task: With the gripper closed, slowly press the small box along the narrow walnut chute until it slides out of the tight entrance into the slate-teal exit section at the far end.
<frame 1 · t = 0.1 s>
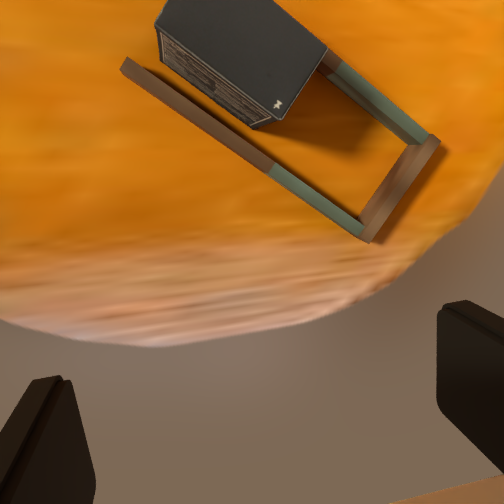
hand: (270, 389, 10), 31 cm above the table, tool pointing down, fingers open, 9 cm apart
small box: (226, 67, 38), resting in chute
chute: (280, 107, 39), on the table
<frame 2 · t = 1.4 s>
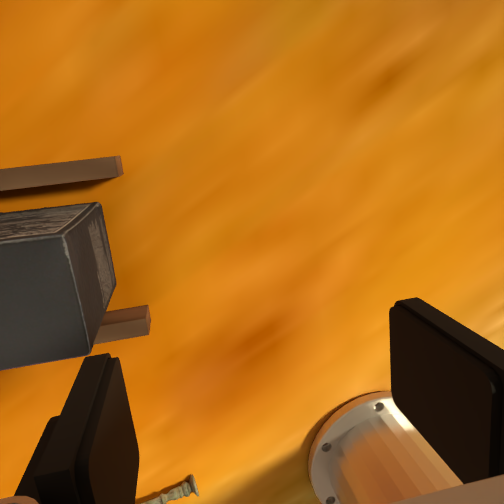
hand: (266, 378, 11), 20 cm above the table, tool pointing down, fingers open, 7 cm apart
small box: (31, 256, 28), resting in chute
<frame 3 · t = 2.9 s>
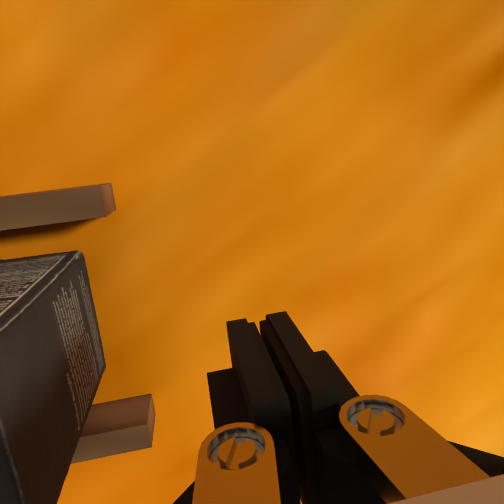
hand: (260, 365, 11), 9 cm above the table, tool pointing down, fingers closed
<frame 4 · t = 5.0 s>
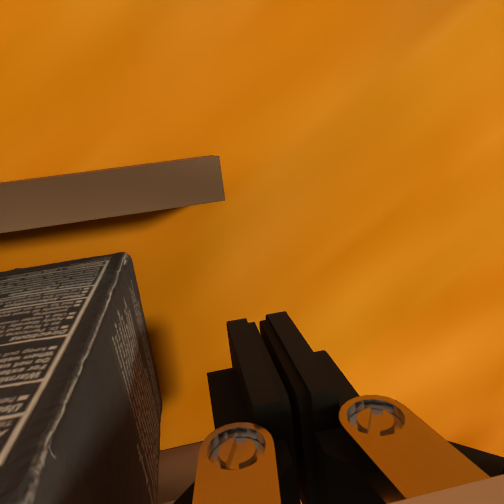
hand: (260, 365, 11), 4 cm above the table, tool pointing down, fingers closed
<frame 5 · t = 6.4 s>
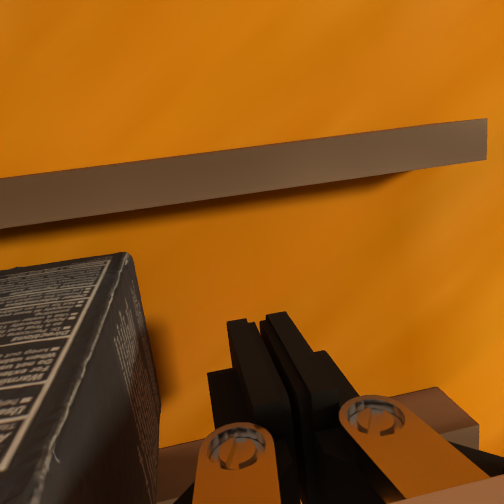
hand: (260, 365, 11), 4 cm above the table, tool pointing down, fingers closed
chute: (92, 344, 14), on the table
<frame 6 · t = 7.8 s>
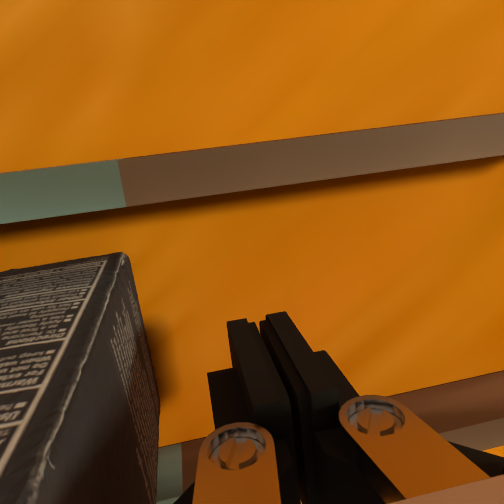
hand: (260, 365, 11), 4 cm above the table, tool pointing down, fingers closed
chute: (216, 319, 15), on the table
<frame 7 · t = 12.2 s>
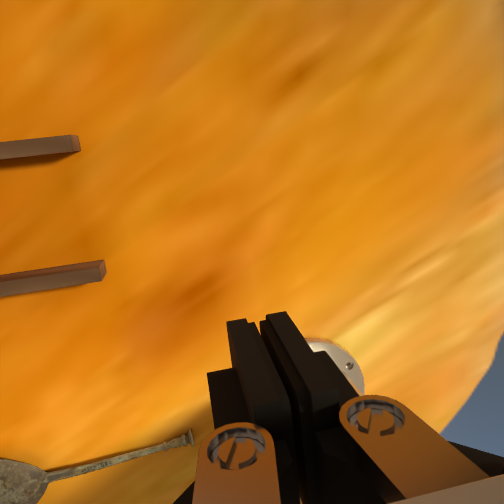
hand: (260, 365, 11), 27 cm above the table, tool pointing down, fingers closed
soupspoon: (84, 457, 42), on the table
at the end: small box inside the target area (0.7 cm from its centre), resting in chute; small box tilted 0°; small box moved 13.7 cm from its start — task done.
